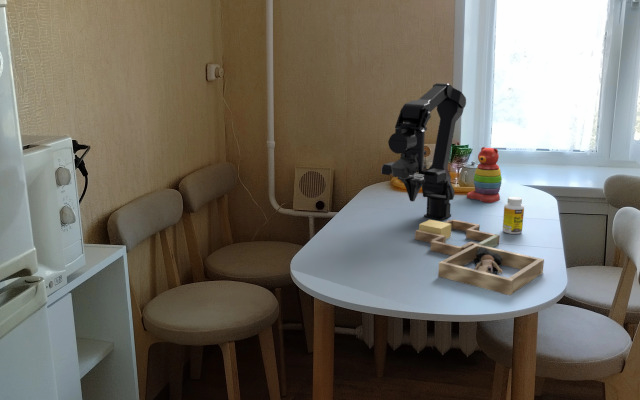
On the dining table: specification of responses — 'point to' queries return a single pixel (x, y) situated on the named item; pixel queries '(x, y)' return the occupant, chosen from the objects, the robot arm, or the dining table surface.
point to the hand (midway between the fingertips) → (412, 201)
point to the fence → (457, 272)
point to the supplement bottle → (513, 215)
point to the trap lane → (470, 228)
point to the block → (436, 227)
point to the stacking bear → (487, 177)
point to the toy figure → (487, 261)
